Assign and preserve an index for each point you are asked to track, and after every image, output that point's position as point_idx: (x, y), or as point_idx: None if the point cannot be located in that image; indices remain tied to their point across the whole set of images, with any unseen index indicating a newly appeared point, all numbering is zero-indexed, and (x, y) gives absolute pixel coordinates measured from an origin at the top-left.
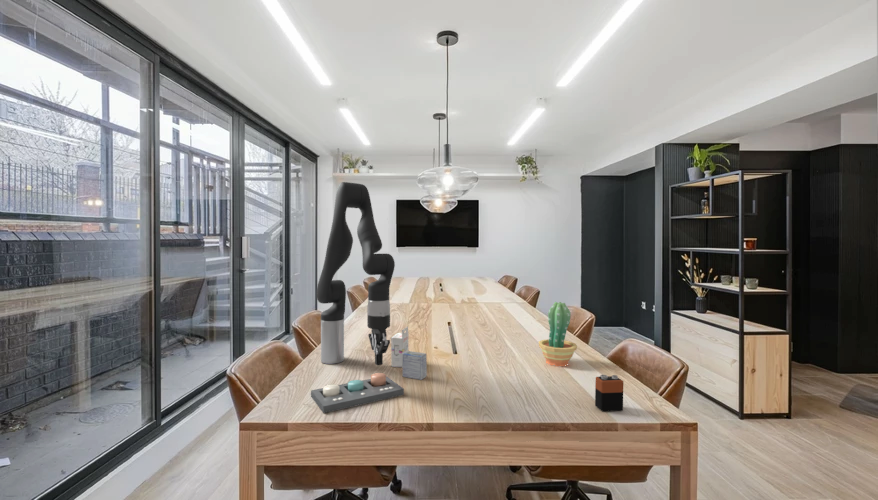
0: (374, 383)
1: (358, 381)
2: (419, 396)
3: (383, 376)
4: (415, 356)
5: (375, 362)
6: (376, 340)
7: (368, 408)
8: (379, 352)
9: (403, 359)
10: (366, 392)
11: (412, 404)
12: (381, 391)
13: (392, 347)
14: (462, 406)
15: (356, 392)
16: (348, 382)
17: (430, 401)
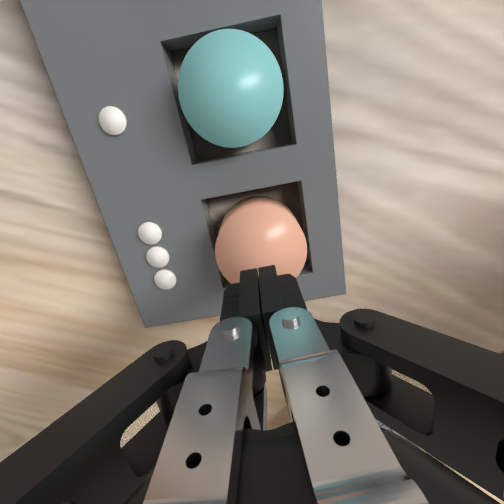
0: (228, 213)
1: (248, 116)
2: (124, 357)
3: (234, 275)
4: None
5: (263, 271)
6: (150, 501)
7: (27, 130)
8: (140, 360)
9: (387, 429)
10: (136, 146)
11: (49, 316)
12: (132, 226)
13: None
14: (14, 442)
15: (150, 85)
16: (252, 37)
17: (69, 376)
